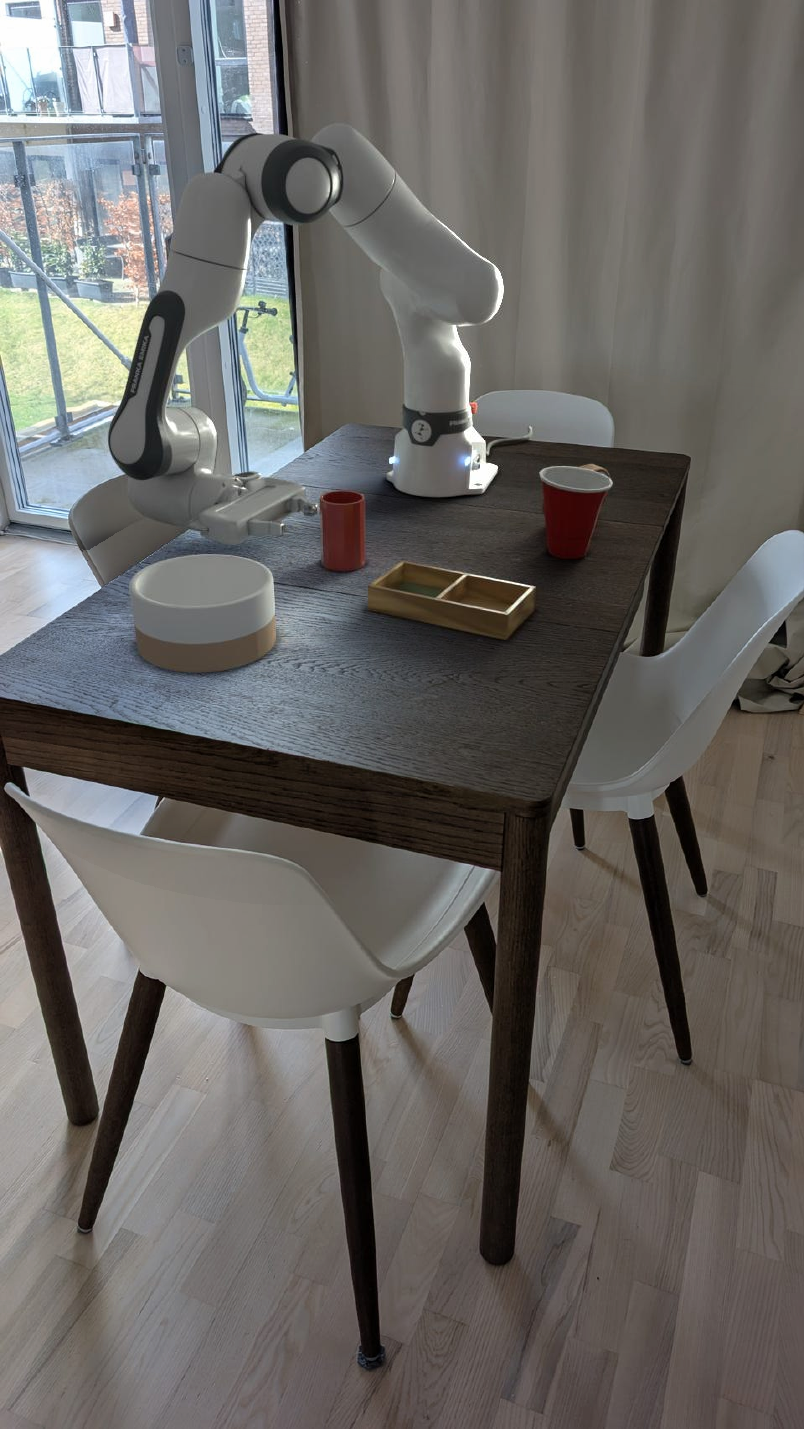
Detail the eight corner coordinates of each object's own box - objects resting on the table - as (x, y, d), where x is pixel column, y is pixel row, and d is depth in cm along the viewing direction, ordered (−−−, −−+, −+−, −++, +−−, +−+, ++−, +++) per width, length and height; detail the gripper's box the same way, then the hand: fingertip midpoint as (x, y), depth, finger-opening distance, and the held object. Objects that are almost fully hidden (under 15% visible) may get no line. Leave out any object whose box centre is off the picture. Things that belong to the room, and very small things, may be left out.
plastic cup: (603, 568, 152) (612, 488, 146) (529, 562, 153) (536, 483, 147) (606, 543, 161) (614, 467, 155) (536, 537, 163) (542, 462, 157)
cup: (335, 552, 156) (334, 488, 151) (372, 560, 154) (372, 494, 149) (313, 566, 151) (311, 500, 146) (351, 574, 149) (351, 507, 144)
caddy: (402, 583, 146) (402, 560, 144) (534, 610, 138) (536, 586, 137) (367, 610, 138) (367, 585, 136) (505, 640, 130) (507, 614, 129)
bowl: (155, 611, 137) (148, 552, 133) (284, 614, 136) (281, 554, 132) (120, 671, 122) (111, 606, 118) (265, 675, 121) (261, 610, 117)
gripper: (178, 504, 148) (259, 520, 143) (258, 468, 164) (333, 480, 159) (182, 546, 151) (262, 563, 146) (260, 506, 167) (334, 519, 162)
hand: (299, 519), depth 153 cm, fingers open, 8 cm apart
